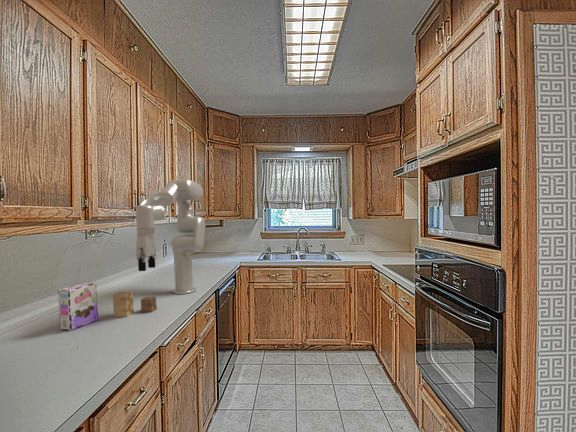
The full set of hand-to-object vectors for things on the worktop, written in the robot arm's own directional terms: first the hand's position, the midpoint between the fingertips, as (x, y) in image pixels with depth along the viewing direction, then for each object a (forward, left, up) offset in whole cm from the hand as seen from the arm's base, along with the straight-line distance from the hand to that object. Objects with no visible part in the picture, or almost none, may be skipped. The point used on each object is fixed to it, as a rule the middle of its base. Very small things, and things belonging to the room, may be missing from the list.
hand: (147, 269), depth 170 cm
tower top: (+6, -9, -14) cm, 18 cm away
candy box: (+19, -21, -20) cm, 35 cm away
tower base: (+6, -9, -19) cm, 22 cm away
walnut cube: (0, 0, -19) cm, 19 cm away
